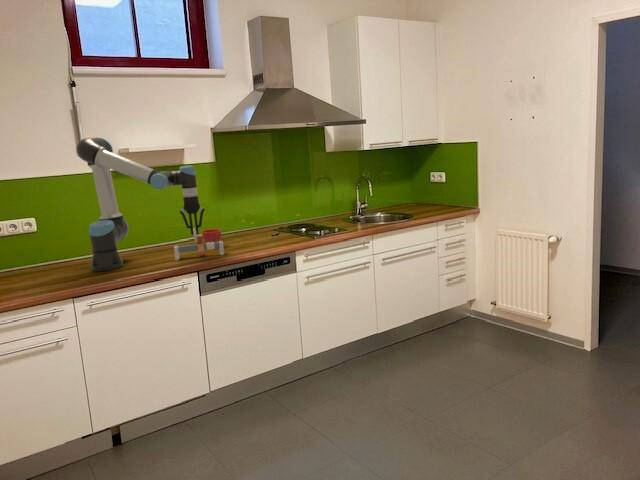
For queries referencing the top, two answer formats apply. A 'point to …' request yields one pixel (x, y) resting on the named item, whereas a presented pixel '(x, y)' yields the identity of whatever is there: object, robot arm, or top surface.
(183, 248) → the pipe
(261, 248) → the top surface
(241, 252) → the top surface
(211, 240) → the flower pot
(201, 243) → the collar
